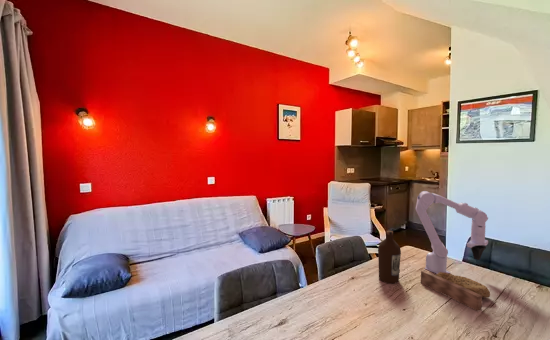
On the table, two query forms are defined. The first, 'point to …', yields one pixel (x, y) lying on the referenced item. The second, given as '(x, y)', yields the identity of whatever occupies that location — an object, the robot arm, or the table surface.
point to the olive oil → (389, 259)
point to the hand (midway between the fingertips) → (476, 259)
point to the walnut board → (452, 290)
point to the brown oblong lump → (466, 283)
